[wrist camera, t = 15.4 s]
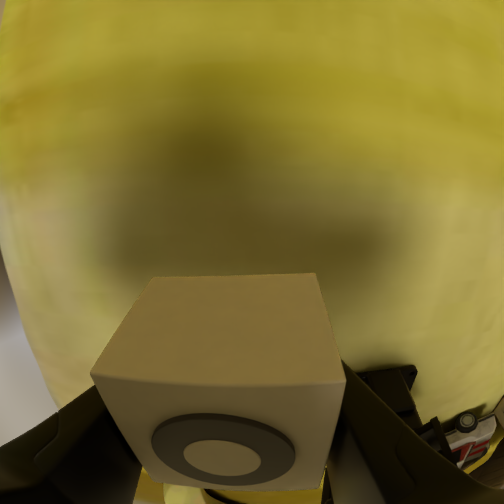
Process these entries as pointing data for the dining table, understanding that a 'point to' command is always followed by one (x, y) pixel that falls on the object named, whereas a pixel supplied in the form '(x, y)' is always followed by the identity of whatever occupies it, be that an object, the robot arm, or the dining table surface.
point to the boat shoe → (492, 469)
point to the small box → (500, 412)
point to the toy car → (470, 436)
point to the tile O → (226, 381)
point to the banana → (187, 495)
